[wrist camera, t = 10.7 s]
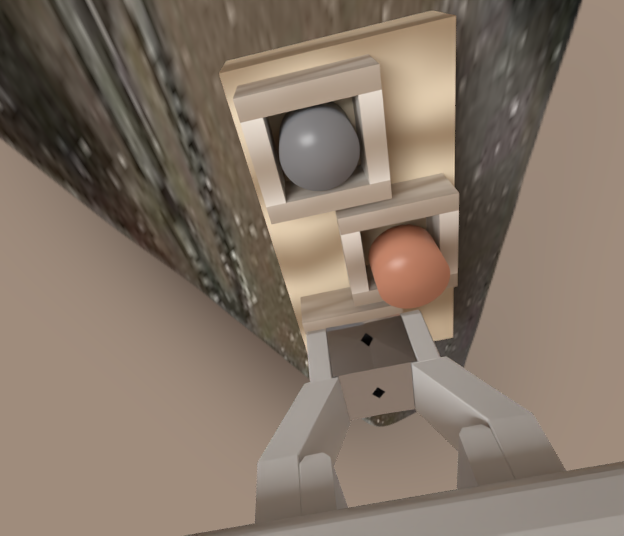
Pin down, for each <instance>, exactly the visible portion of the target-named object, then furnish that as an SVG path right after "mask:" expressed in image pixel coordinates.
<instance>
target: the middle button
mask: <svg viewBox="0 0 624 536" xmlns="http://www.w3.org/2000/svg"><path fill="white" fill-rule="evenodd" d="M368 259H369V264H370V267H371V270H372V273H373V276H374V279H375V283H376V286H377V289H378V292H379V294H380V296H381V298H382V299H383V300H384V301H385V302H386V303H388V304H389V305H391V306H394V307H397V308H404V309H409V308H416V307H420V306H423V305H426V304H428V303H430V302H432V301H433V300H435V299H436V298H437V297H438V296H440V295H441V294H442V293H443V291H444V290H445V289H446V287H447V285H448V283H449V280H450V268H449V265H448V263H447V262H446V260H445V258H444V257H443V255H442V253H441V252H440V250H439V248H438V246H437V245H436V243H435V241H434V240H433V238H432V236H431V235H430V234H429V233H428V232H427V231H426V230H425V229H423V228H421V227H419V226H416V225H409V224H407V225H398V226H395V227H392V228H390V229H388V230H386V231H384V232H383V233H381V234H380V235H379V236H378V237H377V238H376V239H375V240H374V242H373V243H372V245H371V247H370V250H369V255H368Z"/></svg>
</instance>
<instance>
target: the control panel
mask: <svg viewBox="0 0 624 536" xmlns="http://www.w3.org/2000/svg"><path fill="white" fill-rule="evenodd" d="M455 70H456V16H455V15H451V14H446V13H442V12H437V11H433V10H432V11H428V12H424V13H419V14H415V15H411V16H407V17H403V18H399V19H395V20H391V21H387V22H383V23H379V24H375V25H371V26H367V27H363V28H359V29H354V30H350V31H346V32H342V33H338V34H334V35H330V36H326V37H322V38H318V39H314V40H310V41H306V42H302V43H298V44H294V45H290V46H285V47H281V48H277V49H273V50H269V51H265V52H261V53H257V54H253V55H249V56H245V57H241V58H237V59H233V60H229V61H226V62H225V64H224V66H223V68H222V69H221V71H220V73H219V76H220V79H221V82H222V85H223V88H224V91H225V94H226V98H227V101H228V104H229V107H230V110H231V113H232V116H233V120H234V123H235V126H236V129H237V132H238V135H239V139H240V142H241V145H242V148H243V151H244V154H245V157H246V161H247V164H248V167H249V170H250V173H251V176H252V179H253V183H254V186H255V189H256V192H257V195H258V198H259V202H260V205H261V208H262V211H263V214H264V217H265V220H266V224H267V227H268V230H269V233H270V236H271V239H272V242H273V246H274V249H275V252H276V255H277V258H278V261H279V264H280V268H281V271H282V274H283V277H284V280H285V283H286V287H287V290H288V293H289V296H290V299H291V302H292V305H293V309H294V312H295V315H296V318H297V321H298V324H299V327H300V331H301V334H302V337H303V340H304V343H305V346H306V350H307V338H306V336H307V332H308V331H314V330H320V329H326V328H329V327H335V326H341V325H346V324H352V323H358V322H362V321H366V320H371V319H376V318H381V317H386V316H390V315H395V314H400V313H405V312H410V311H414V310H419V311H421V313H422V315H423V317H424V320H425V322H426V324H427V327H428V329H429V331H430V334H431V336H432V338H433V341H438V340H443V339H448V338H453V287H456V286H458V230H459V192H458V191H457V190H456V188H455V187H454V177H455ZM331 101H333V102H334V103H336V104H337V105H339V106H340V107H341V108H342V109H343V110H344V112H345V113H346V115H347V117H348V118H349V120H350V122H351V124H352V126H353V128H354V130H355V132H356V134H357V137H358V140H359V145H360V155H359V160H358V163H357V166H356V168H355V170H354V171H353V173H352V174H351V176H350V177H349V178H348V179H347V180H346V181H345V182H343V183H342V184H341V185H339V186H337V187H335V188H332V189H329V190H325V191H311V190H307V189H304V188H302V187H299V186H298V185H296V184H295V183H293V182H292V181H291V180H290V179H289V178H288V177H287V175H286V174H285V172H284V170H283V168H282V166H281V163H280V158H279V129H280V125H281V122H282V119H283V117H284V116H285V114H286V113H287V112H289V111H293V110H297V109H301V108H306V107H310V106H314V105H318V104H323V103H327V102H331ZM407 224H409V225H416V226H419V227H421V228H423V229H425V230H426V231H427V232H428V233H429V234H430V235H431V236H432V238H433V240H434V241H435V243H436V245H437V246H438V248H439V250H440V252H441V253H442V255H443V257H444V258H445V260H446V262H447V263H448V265H449V268H450V280H449V283H448V285H447V287H446V289H445V290H444V291H443V293H442V294H441V295H440V296H438V297H437V298H436V299H435V300H433V301H432V302H430V303H428V304H426V305H423V306H420V307H416V308H409V309H404V308H397V307H394V306H391V305H389V304H388V303H386V302H385V301H384V300H383V299H382V298H381V296H380V294H379V292H378V289H377V286H376V283H375V279H374V276H373V273H372V270H371V267H370V264H369V259H368V255H369V250H370V247H371V245H372V243H373V242H374V240H375V239H376V238H377V237H378V236H379V235H380V234H381V233H383V232H384V231H386V230H388V229H390V228H392V227H395V226H398V225H407ZM307 353H308V350H307Z"/></svg>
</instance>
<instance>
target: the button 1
mask: <svg viewBox="0 0 624 536" xmlns="http://www.w3.org/2000/svg"><path fill="white" fill-rule="evenodd" d="M359 155H360V145H359V140H358V137H357V134H356V132H355V130H354V128H353V126H352V124H351V122H350V120H349V118H348V117H347V115H346V113H345V112H344V110H343V109H342V108H341V107H340V106H339V105H337V104H336V103H334V102H333V101H331V102H327V103H323V104H318V105H314V106H310V107H306V108H301V109H297V110H293V111H289V112H287V113H286V114H285V116H284V117H283V119H282V122H281V125H280V129H279V158H280V163H281V166H282V168H283V170H284V172H285V174H286V175H287V177H288V178H289V179H290V180H291V181H292V182H293V183H295V184H296V185H298V186H299V187H302V188H304V189H307V190H311V191H325V190H329V189H332V188H335V187H337V186H339V185H341V184H342V183H343V182H345V181H346V180H347V179H348V178H349V177H350V176H351V174H352V173H353V171H354V170H355V168H356V166H357V163H358V160H359Z"/></svg>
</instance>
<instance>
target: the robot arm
mask: <svg viewBox="0 0 624 536" xmlns="http://www.w3.org/2000/svg"><path fill="white" fill-rule="evenodd" d="M306 338H307V350H308V363H309V375H310V382H309V383H305V384H304V385H303V387H302V389H301V391H300V392H299V394H298V396H297V397H296V399H295V400H294V402H293V404H292V406H291V407H290V409H289V411H288V412H287V414H286V416H285V417H284V419H283V421H282V422H281V424H280V426H279V427H278V429H277V431H276V433H275V434H274V436H273V438H272V439H271V441H270V443H269V444H268V446H267V448H266V449H265V451H264V453H263V454H262V456H261V458H260V459H259V461H258V466H257V488H256V489H257V490H256V513H255V524H249V525H244V526H238V527H232V528H226V529H220V530H214V531H208V532H202V533H196V534H190V535H184V536H624V461H623V462H617V463H611V464H605V465H599V466H594V467H587V468H581V469H576V470H570V471H566V470H565V468H564V466H563V464H562V463H561V461H560V459H559V457H558V456H557V454H556V452H555V451H554V449H553V447H552V445H551V444H550V442H549V440H548V439H547V437H546V435H545V433H544V432H543V430H542V428H541V426H540V425H539V423H538V421H537V420H536V418H535V416H534V414H533V413H531V412H530V411H528V410H527V409H525V408H524V407H522V406H520V405H519V404H517V403H516V402H515V401H513V400H512V399H510V398H509V397H507V396H506V395H504V394H503V393H501V392H500V391H498V390H496V389H495V388H493V387H492V386H490V385H489V384H487V383H486V382H484V381H483V380H481V379H480V378H478V377H477V376H475V375H474V374H472V373H471V372H469V371H468V370H466V369H465V368H463V367H462V366H460V365H459V364H457V363H456V362H454V361H453V360H451V359H450V358H448V357H447V356H446V357H440V355H439V352H438V350H437V348H436V345H435V343H434V341H433V338H432V336H431V334H430V331H429V329H428V327H427V324H426V322H425V320H424V317H423V315H422V313H421V311H419V310H414V311H410V312H405V313H400V314H395V315H390V316H386V317H381V318H376V319H371V320H366V321H362V322H358V323H352V324H346V325H341V326H335V327H329V328H326V329H320V330H314V331H308V332H307V336H306ZM411 409H416V411H417V412H418V413H419V414H420V415H421V416H422V417H423V418H424V419H425V420H426V421H427V422H428V423H429V424H430V425H431V426H432V427H433V428H434V429H435V430H436V431H437V432H438V433H440V434H441V435H442V436H443V437H444V438H445V439H446V440H447V441H448V442H449V443H450V444H451V445H452V446H453V447H454V448H455V449H456V450H457V451H458V473H457V489H456V490H450V491H444V492H438V493H432V494H427V495H421V496H415V497H409V498H403V499H397V500H392V501H385V502H379V503H373V504H368V505H362V506H356V507H350V508H348V507H347V503H346V501H345V498H344V495H343V492H342V489H341V486H340V483H339V480H338V477H337V475H336V472H335V469H334V464H335V462H336V459H337V457H338V454H339V451H340V449H341V446H342V444H343V441H344V439H345V436H346V433H347V430H348V428H349V426H350V421H351V420H356V419H361V418H365V417H370V416H375V415H380V414H385V413H392V412H398V411H405V410H411Z"/></svg>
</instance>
